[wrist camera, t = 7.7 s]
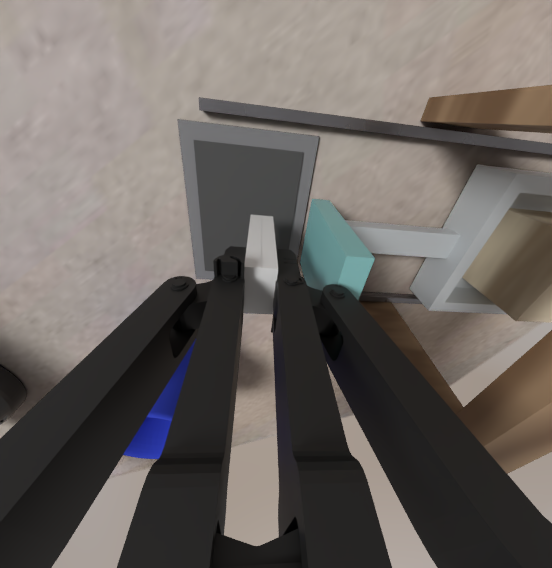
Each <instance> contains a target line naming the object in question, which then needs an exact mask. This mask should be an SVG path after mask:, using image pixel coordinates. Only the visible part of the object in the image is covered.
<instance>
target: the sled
mask: <svg viewBox="0 0 552 568" xmlns="http://www.w3.org/2000/svg"><path fill="white" fill-rule="evenodd" d="M509 208H515V209H526V210H536V211H546V212H552V173H546V172H538V171H529V170H521V169H512V168H504V167H495V166H487V165H478V164H477V166H476V167H475V169H474V171H473V173H472V175H471V177H470V178H469V180H468V182H467V184H466V186H465V188H464V189H463V191H462V193H461V195H460V197H459V199H458V200H457V202H456V204H455V206H454V208H453V210H452V211H451V213H450V215H449V217H448V219H447V221H446V222H445V224H444V226H443V228H433V227H421V226H409V225H398V224H386V223H374V222H363V221H351V220H344V218H343V217H342V216H341V215H340V213H339V212H338V211H337V210H336V208H335V207H334V206H333V204H332V203H331V202H330V201H329V200H320V199H312V202H311V207H310V213H309V218H308V223H307V229H306V234H305V239H304V245H303V250H302V255H301V260H300V264H301V267H302V271H303V275H304V279H305V281H306V284H307V286H309V287H312V288H315V289H318V290H322V291H323V287H325V286H326V285H329V284H337V285H341V286H343V287H345V288H347V289H348V290H349V291H350V292H351V293H352V294H353V295H354V296H355V297H356V299H357V300H359V297H360V295H361V292H362V290H363V287H364V285H365V282H366V280H367V277H368V275H369V272H370V270H371V267H372V265H373V262H374V260H375V258H374V256H373V255H372V254H371V253H376V254H390V255H404V256H418V257H426V259H425V261H424V263H423V265H422V266H421V268H420V270H419V272H418V274H417V276H416V277H415V279H414V281H413V283H412V285H411V287H410V288H409V289H410V290H411V291H412V292H413V293H414V294H415V296H416V297H417V298H418V299H419V300H420V301H421V303H422V304H423V305H424V306H425V307H426V308H427V310H428V311H447V312H468V313H489V314H506V313H505V312H504V311H503V310H502V309H500V308H499V307H498V306H497V305H495V304H494V303H493V302H492V301H490V300H489V299H488V298H487V297H485V296H484V295H483V294H482V293H481V292H479V291H478V290H477V289H476V288H474V287H473V286H472V285H471V284H469V283H468V282H467V281H466V280H465V279H463V278H462V277H463V275H464V274H465V272H466V271H467V269H468V268H469V266H470V265H471V264H472V262H473V261H474V259H475V258H476V256H477V255H478V253H479V252H480V250H481V249H482V248H483V246H484V245H485V243H486V242H487V240H488V239H489V237H490V236H491V234H492V233H493V231H494V230H495V229H496V227H497V226H498V224H499V223H500V221H501V220H502V218H503V217H504V215H505V214H506V213H507V211H508V210H509Z"/></svg>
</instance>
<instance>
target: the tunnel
mask: <svg viewBox="0 0 552 568" xmlns="http://www.w3.org/2000/svg"><path fill="white" fill-rule="evenodd" d="M421 121H423V122H431V123H438V124H446V125H453V126H461V127H468V128H476V129H492V130H508V131H524V132H540V133H552V85H545V86H536V87H526V88H517V89H507V90H498V91H489V92H479V93H470V94H460V95H451V96H441V97H432V98H429V100H428V103H427V105H426V108H425V111H424V113H423V116H422V119H421ZM359 302H360V303H361V304H362V306H363V307H364V308H365V309H366V310H367V311H368V313H369V314H370V315H371V316H372V317H373V318H374V320H375V321H376V322H377V323H378V324H379V325H380V327H381V328H382V329H383V330H384V331H385V332H386V334H387V335H388V336H389V337H390V338H391V339H392V341H393V342H394V343H395V344H396V345H397V346H398V348H399V349H400V350H401V351H402V352H403V353H404V355H405V356H406V357H407V358H408V359H409V360H410V362H411V363H412V364H413V365H414V366H415V367H416V369H417V370H418V371H419V372H420V373H421V374H422V375H423V377H424V378H425V379H426V380H427V381H428V382H429V384H430V385H431V386H432V387H433V388H434V389H435V391H436V392H437V393H438V394H439V395H440V396H441V398H442V399H443V400H444V401H445V402H446V403H447V405H448V406H449V407H450V408H451V409H452V410H453V412H454V413H455V414H456V415H457V416H458V417H459V419H460V420H461V421H462V422H463V423H464V424H465V426H466V427H467V428H468V429H469V430H470V431H471V433H472V434H473V435H474V436H475V437H476V438H477V440H478V441H479V442H480V443H481V444H482V445H483V447H484V448H485V449H486V450H487V451H488V452H489V454H490V455H491V456H492V457H493V458H494V459H495V461H496V462H497V463H498V464H499V465H500V466H501V468H502V469H503V470H504V471H505V472H506V473H507V474H508V473H510V472H512V471H514V470H516V469H517V468H519V467H522V466H524V465H526V464H528V463H530V462H532V461H534V460H536V459H538V458H540V457H542V456H544V455H546V454H548V453H550V452H552V330H551V331H550V332H549V333H548V334H547V335H546V336H545V337H543V338H542V339H541V340H540V341H539V342H538V343H537V344H535V345H534V346H533V347H532V348H531V349H530V350H529V351H527V352H526V353H525V354H524V355H523V356H522V357H521V358H519V359H518V360H517V361H516V362H515V363H514V364H513V365H512V366H510V367H509V368H508V369H507V370H506V371H505V372H504V373H502V374H501V375H500V376H499V377H498V378H497V379H496V380H495V381H493V382H492V383H491V384H490V385H489V386H488V387H487V388H485V389H484V390H483V391H482V392H481V393H480V394H479V395H477V396H476V397H475V398H474V399H473V400H472V401H471V402H469V403H468V404H467V405H466V406H465V407H463V406H462V404H461V403H460V401H459V400H458V399H457V397H456V396H455V394H454V393H453V391H452V390H451V388H450V387H449V385H448V384H447V383H446V381H445V380H444V378H443V377H442V375H441V374H440V372H439V371H438V370H437V368H436V367H435V365H434V364H433V362H432V361H431V359H430V358H429V356H428V355H427V354H426V352H425V351H424V349H423V348H422V346H421V345H420V343H419V342H418V341H417V339H416V338H415V336H414V335H413V333H412V332H411V330H410V329H409V327H408V326H407V325H406V323H405V322H404V320H403V319H402V317H401V316H400V314H399V313H398V312H397V310H396V309H395V307H394V306H393V304H392V303H391V302H374V301H359Z"/></svg>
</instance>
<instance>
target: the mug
mask: <svg viewBox="0 0 552 568" xmlns="http://www.w3.org/2000/svg"><path fill="white" fill-rule="evenodd" d="M195 340H196V339H195ZM194 344H195V341H194V342H193V344H192V346H191V347H190V349H189V350H188V352H187V353H186V355H185V357H184V358H183V360H182V361H181V363H180V365H179V366H178V368H177V369H176V371H175V373H174V374H173V376H172V377H171V379H170V381H169V382H168V384H167V385H166V387H165V389H164V390H163V392H162V393H161V395H160V396H159V398H158V400H157V401H156V403H155V404H154V406H153V408H152V409H151V411H150V412H149V414H148V416H147V417H146V419H145V420H144V422H143V424H142V425H141V427H140V428H139V430H138V432H137V433H136V435H135V436H134V438H133V440H132V441H131V443H130V444H129V446H128V447H127V449H126V451H125V452H124V454H123V455H126V456H131V457H137V458H146V459H159V458H160V456H161V454H162V451H163V448H164V445H165V442H166V438H167V435H168V431H169V428H170V425H171V421H172V418H173V415H174V411H175V408H176V404H177V401H178V398H179V394H180V391H181V388H182V384H183V381H184V378H185V374H186V371H187V367H188V364H189V361H190V357H191V354H192V351H193V347H194Z"/></svg>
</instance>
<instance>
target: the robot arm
mask: <svg viewBox="0 0 552 568" xmlns="http://www.w3.org/2000/svg"><path fill="white" fill-rule="evenodd" d="M213 264H214V280H212V281H210V282H207V283H201V284H196V282H195V280H193V279H192V278H190V277H185V276H179V277H174V278H171V279H168V280H167V281H165V282H164V283H163V284H162V285H161V286H160V287H159V288H158V289H157V290H156V291H155V292H154V293H153V294H152V295H151V296H149V297H148V298H147V299H146V300H145V301H144V302H143V303H142V304H141V305H140V306H139V307H138V308H137V309H136V310H135V311H134V312H133V313H132V314H131V315H130V316H129V317H127V318H126V319H125V320H124V321H123V322H122V323H121V324H120V325H119V326H118V327H117V328H116V329H115V330H114V331H113V332H112V333H111V334H110V335H109V336H108V337H106V338H105V339H104V340H103V341H102V342H101V343H100V344H99V345H98V346H97V347H96V348H95V349H94V350H93V351H92V352H91V353H90V354H89V355H88V356H87V357H86V358H84V359H83V360H82V361H81V362H80V363H79V364H78V365H77V366H76V367H75V368H74V369H73V370H72V371H71V372H70V373H69V374H68V375H67V376H66V377H65V378H63V379H62V380H61V381H60V382H59V383H58V384H57V385H56V386H55V387H54V388H53V389H52V390H51V391H50V392H49V393H48V394H47V395H46V396H45V397H44V398H43V399H41V400H40V401H39V402H38V403H37V404H36V405H35V406H34V407H33V408H32V409H31V410H30V411H29V412H28V413H27V414H26V415H25V416H24V417H23V418H22V419H20V420H19V421H18V422H17V423H16V424H15V425H14V426H13V427H12V428H11V429H10V430H9V431H8V432H7V433H6V434H5V435H4V436H3V437H2V438H1V439H0V568H51V567H52V566H53V564H54V563H55V561H56V560H57V558H58V557H59V555H60V554H61V552H62V551H63V549H64V548H65V546H66V545H67V543H68V541H69V540H70V538H71V537H72V535H73V534H74V532H75V530H76V529H77V527H78V525H79V524H80V522H81V521H82V519H83V518H84V516H85V514H86V513H87V511H88V510H89V508H90V506H91V505H92V503H93V502H94V500H95V498H96V497H97V495H98V494H99V492H100V491H101V489H102V487H103V486H104V484H105V483H106V481H107V479H108V478H109V476H110V475H111V473H112V471H113V470H114V468H115V467H116V465H117V463H118V462H119V460H120V459H121V457H122V455H123V454H124V452H125V451H126V449H127V447H128V446H129V444H130V443H131V441H132V440H133V438H134V436H135V435H136V433H137V432H138V430H139V428H140V427H141V425H142V424H143V422H144V420H145V419H146V417H147V416H148V414H149V412H150V411H151V409H152V408H153V406H154V404H155V403H156V401H157V400H158V398H159V396H160V395H161V393H162V392H163V390H164V389H165V387H166V385H167V384H168V382H169V381H170V379H171V377H172V376H173V374H174V373H175V371H176V369H177V368H178V366H179V365H180V363H181V361H182V360H183V358H184V357H185V355H186V353H187V352H188V350H189V349H190V347H191V346H192V344H193V342H194V341H195V344H194V347H193V351H192V354H191V357H190V361H189V364H188V367H187V371H186V374H185V378H184V381H183V384H182V388H181V391H180V394H179V398H178V401H177V404H176V408H175V411H174V415H173V418H172V421H171V425H170V428H169V431H168V435H167V438H166V442H165V445H164V448H163V451H162V454H161V456H160V458H159V459H158V460H157V461H156V462H155V463H154V464H153V465H152V467H151V469H150V471H149V473H148V475H147V477H146V480H145V483H144V485H143V488H142V491H141V494H140V497H139V500H138V503H137V507H136V510H135V513H134V516H133V519H132V522H131V525H130V528H129V531H128V535H127V538H126V541H125V544H124V547H123V550H122V553H121V556H120V560H119V563H118V566H117V568H392V566H391V563H390V559H389V556H388V552H387V549H386V545H385V541H384V538H383V534H382V531H381V528H380V524H379V520H378V517H377V513H376V510H375V506H374V503H373V499H372V496H371V492H370V488H369V485H368V482H367V479H366V476H365V473H364V470H363V468H362V467H361V465H360V463H359V461H358V460H357V459H355V458H354V457H353V456H352V455H351V453H350V451H349V448H348V445H347V442H346V438H345V434H344V430H343V426H342V422H341V418H340V414H339V410H338V406H337V402H336V398H335V394H334V390H333V386H332V382H331V379H330V375H329V371H328V367H327V364H328V366H329V368H330V370H331V372H332V373H333V375H334V377H335V379H336V381H337V383H338V385H339V387H340V389H341V390H342V392H343V394H344V396H345V398H346V400H347V402H348V404H349V406H350V408H351V409H352V411H353V413H354V415H355V417H356V419H357V421H358V422H359V425H360V426H361V428H362V430H363V432H364V434H365V436H366V438H367V439H368V441H369V443H370V445H371V447H372V449H373V451H374V453H375V455H376V457H377V459H378V460H379V462H380V464H381V466H382V468H383V470H384V472H385V473H386V475H387V477H388V479H389V481H390V483H391V485H392V487H393V489H394V491H395V493H396V495H397V496H398V498H399V500H400V502H401V504H402V506H403V508H404V510H405V512H406V513H407V515H408V517H409V519H410V521H411V523H412V525H413V527H414V529H415V530H416V532H417V534H418V535H419V537H420V539H421V541H422V543H423V544H424V546H425V548H426V550H427V551H428V553H429V555H430V557H431V558H432V560H433V561H434V563H435V564H436V566H437V567H438V568H552V523H551V522H549V521H548V520H547V519H546V518H545V517H544V516H543V515H542V514H541V513H540V512H539V511H538V510H537V508H536V507H535V506H534V505H533V504H532V502H531V501H530V500H529V499H528V498H527V497H526V496H525V495H524V493H523V492H522V491H521V490H520V489H519V487H518V486H517V485H516V484H515V483H514V482H513V480H512V479H511V478H510V477H509V476H508V475H507V473H506V472H505V471H504V470H503V469H502V468H501V466H500V465H499V464H498V463H497V462H496V461H495V459H494V458H493V457H492V456H491V455H490V454H489V452H488V451H487V450H486V449H485V448H484V447H483V445H482V444H481V443H480V442H479V441H478V440H477V438H476V437H475V436H474V435H473V434H472V433H471V431H470V430H469V429H468V428H467V427H466V426H465V424H464V423H463V422H462V421H461V420H460V419H459V417H458V416H457V415H456V414H455V413H454V412H453V410H452V409H451V408H450V407H449V406H448V405H447V403H446V402H445V401H444V400H443V399H442V398H441V396H440V395H439V394H438V393H437V392H436V391H435V389H434V388H433V387H432V386H431V385H430V384H429V382H428V381H427V380H426V379H425V378H424V377H423V375H422V374H421V373H420V372H419V371H418V370H417V369H416V367H415V366H414V365H413V364H412V363H411V362H410V360H409V359H408V358H407V357H406V356H405V355H404V353H403V352H402V351H401V350H400V349H399V348H398V346H397V345H396V344H395V343H394V342H393V341H392V339H391V338H390V337H389V336H388V335H387V334H386V332H385V331H384V330H383V329H382V328H381V327H380V325H379V324H378V323H377V322H376V321H375V320H374V318H373V317H372V316H371V315H370V314H369V313H368V311H367V310H366V309H365V308H364V307H363V306H362V304H361V303H360V302H359V301H358V300H357V299H356V297H355V296H354V295H353V294H352V293H351V292H350V291H349V290H348V289H347V288H345V287H343V286H341V285H337V284H329V285H326V286H325V287H323V291H322V290H318V289H315V288H312V287H309V286H307V284H306V281H305V279H304V278H302V277H301V276H300V272H299V267H298V264H297V259H296V254H295V253H294V252H293V251H292V250H286V249H276V241H275V231H274V221H273V216H262V215H251V216H250V224H249V232H248V240H247V247H235V246H230V247H229V248H227V249H226V250H225V253H224V255H221V256H218V257H217V258H215V259H214V261H213ZM243 313H255V314H273V321H272V328H271V332H273V348H274V372H275V396H276V420H277V441H278V442H277V444H278V467H279V504H278V523H279V538H276V539H274V540H272V541H270V542H268V543H265V544H263V545H261V546H252V545H250V544H247V543H244V542H241V541H238V540H235V539H232V538H229V537H227V536H224V526H225V514H226V499H227V485H228V484H227V483H228V474H229V463H230V453H231V442H232V432H233V421H234V410H235V400H236V389H237V379H238V368H239V357H240V347H241V336H242V325H243ZM195 339H196V340H195ZM326 362H327V363H326ZM25 398H26V390H25V388H24V386H23V385H22V383H21V382H20V381H19V380H18V379H17V378H16V377H15V376H14V375H12V374H11V373H10V372H8V371H7V370H5V369H4V368H2V367H1V366H0V424H2V423H3V422H5V421H6V420H7V419H8V418H10V417H11V416H12V414H13V413H14V412H15V411H16V410H17V409H18V407H19V406H20V405H21V404H22V403H23V401H24V400H25Z"/></svg>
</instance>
